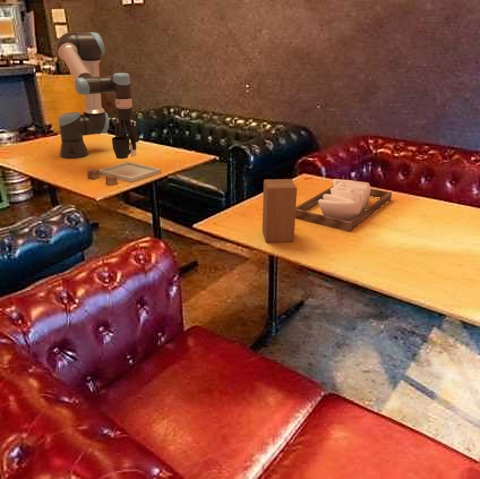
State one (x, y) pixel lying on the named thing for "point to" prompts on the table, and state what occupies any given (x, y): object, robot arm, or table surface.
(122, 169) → the tray
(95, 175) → the walnut cube
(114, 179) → the walnut cube
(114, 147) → the mug
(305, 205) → the book corral
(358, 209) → the white wavy slab sculpture
